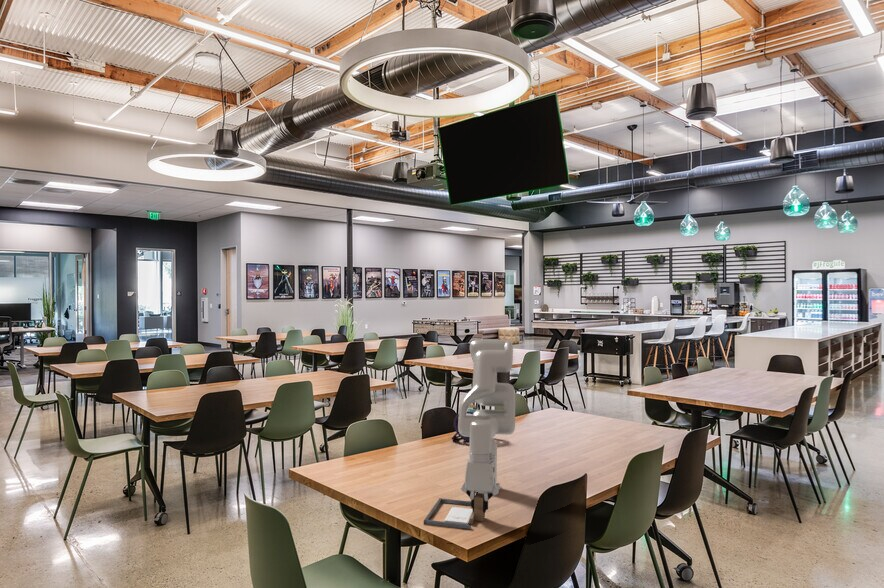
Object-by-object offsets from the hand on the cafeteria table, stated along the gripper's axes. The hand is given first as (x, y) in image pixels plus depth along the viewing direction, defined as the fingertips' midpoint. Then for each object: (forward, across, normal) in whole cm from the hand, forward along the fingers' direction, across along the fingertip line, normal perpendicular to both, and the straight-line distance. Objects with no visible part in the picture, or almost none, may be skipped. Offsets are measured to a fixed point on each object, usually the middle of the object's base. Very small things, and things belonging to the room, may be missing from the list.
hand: (479, 510), depth 186 cm
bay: (+3, +9, -2) cm, 10 cm away
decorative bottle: (+4, +24, -107) cm, 110 cm away
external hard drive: (+4, +7, 0) cm, 8 cm away
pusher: (+3, 0, 0) cm, 3 cm away
